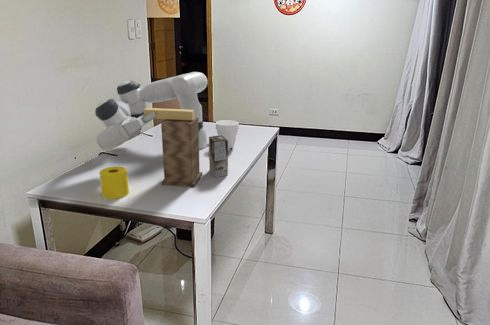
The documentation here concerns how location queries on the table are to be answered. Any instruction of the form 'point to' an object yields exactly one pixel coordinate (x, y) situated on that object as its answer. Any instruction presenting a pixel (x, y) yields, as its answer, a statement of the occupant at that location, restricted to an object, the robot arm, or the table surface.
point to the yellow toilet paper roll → (114, 182)
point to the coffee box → (218, 155)
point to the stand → (180, 152)
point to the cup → (228, 130)
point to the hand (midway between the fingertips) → (157, 112)
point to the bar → (170, 113)
